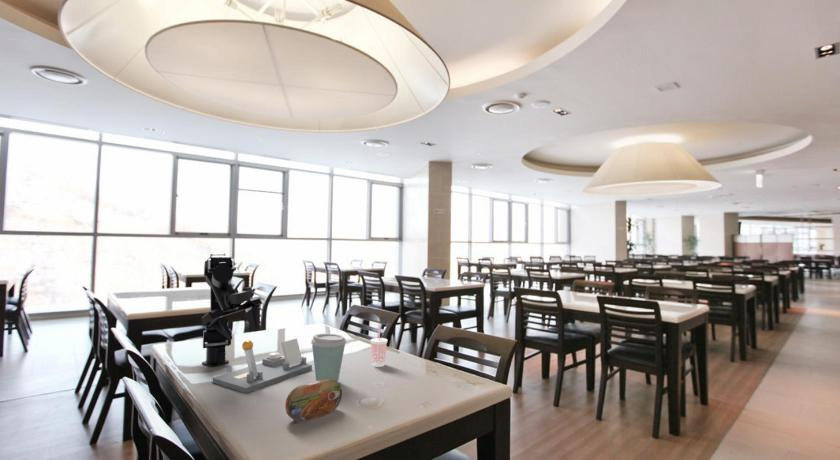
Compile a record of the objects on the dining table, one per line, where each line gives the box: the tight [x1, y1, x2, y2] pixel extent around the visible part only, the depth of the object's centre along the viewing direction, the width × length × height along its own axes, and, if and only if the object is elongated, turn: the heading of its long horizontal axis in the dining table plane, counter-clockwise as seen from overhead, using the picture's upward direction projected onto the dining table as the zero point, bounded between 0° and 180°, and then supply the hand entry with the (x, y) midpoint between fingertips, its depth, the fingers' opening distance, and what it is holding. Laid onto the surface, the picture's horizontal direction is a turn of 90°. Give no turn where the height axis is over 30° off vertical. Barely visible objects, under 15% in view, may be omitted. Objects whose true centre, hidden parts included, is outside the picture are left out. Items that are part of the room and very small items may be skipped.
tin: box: [284, 379, 343, 423], centre depth 103 cm, size 15×3×8 cm, turn 134°
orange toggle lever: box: [241, 340, 258, 377], centre depth 125 cm, size 3×3×11 cm
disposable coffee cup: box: [310, 333, 347, 383], centre depth 126 cm, size 11×11×15 cm
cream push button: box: [268, 352, 281, 361], centre depth 140 cm, size 4×4×2 cm
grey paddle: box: [280, 338, 303, 365], centre depth 139 cm, size 1×6×8 cm, turn 150°
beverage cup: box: [370, 325, 388, 368], centre depth 146 cm, size 6×6×14 cm
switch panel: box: [212, 355, 313, 394], centre depth 132 cm, size 16×26×4 cm, turn 150°
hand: (243, 334), depth 130 cm, fingers open, 9 cm apart
